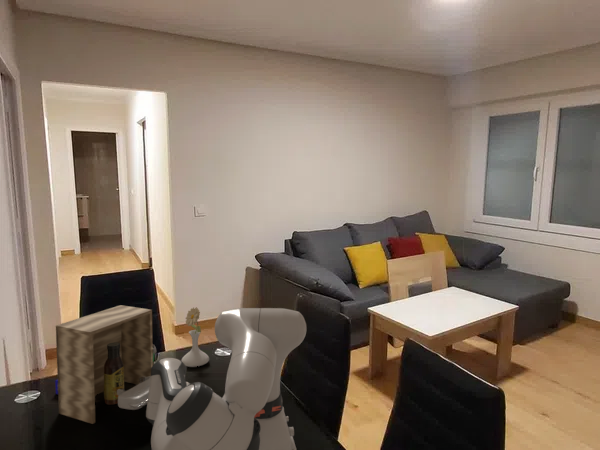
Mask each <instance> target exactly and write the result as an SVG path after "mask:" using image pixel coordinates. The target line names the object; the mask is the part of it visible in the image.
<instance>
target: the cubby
mask: <svg viewBox="0 0 600 450" xmlns="http://www.w3.org/2000/svg"><path fill="white" fill-rule="evenodd" d="M55 339H56V340H55V342H56V343H55V345H56V367H57V370H56V371H57V372H56V373H57V380H58V394H57V395H58V396H57V397H58V414H60V415H63V416H66V417H68V418H72V419H75V420H79V421H82V422H85V423H88V424H92V425H93V424H95V423H96V405H95V402H96V396H98V395H99V394H102V393H104V364H105V362H106V360H107V359H108V349H107V345H108V344H109V343H114V342H118V343H120V357H121V360H122V362H123V365H124V383H128V384H134V385H135V386H136V385H138V384H140V382H139V378H141V377H142V376H144V377H149V376H151V367H152V366H153V309H148V308H143V307H142V308H141V307H137V306H136V307H135V306H128V305H121V304H120V305H116V306H114V307H110V308H106V309H104V310H101V311H97V312H95V313H91V314H88V315H85V316H81V317H79V318H75V319H72V320H69V321H66V322H62V323H58V324H56V325H55ZM97 394H98V395H97Z"/></svg>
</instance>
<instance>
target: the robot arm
mask: <svg viewBox="0 0 600 450" xmlns="http://www.w3.org/2000/svg"><path fill="white" fill-rule="evenodd" d="M214 334H215V337H216V339H217V341H218V342H219V344H220V345H222V346H224V347H226V348H227V349H229V350H230V351H231V358H230V360H229V361H230V362H229V365H228V368H227V372H226V377H225V385H224V387H225V388H224V394H223V396H222V397H221V396H220V395H219V394H217V393H215V392H214V390H213V388H212V387H210V386H208V385H207V384H205V383H203V382H201V381H196V382H191V383H190V382H188V383H186V382H187V381H186V375H187V369H188V367H187V366H185V364H184V363H183V362H182V361H181V360H182V359H179V358H174V357H164V358H160V359H158V361H156V362H154V365H153V366H152V367H151V376H149V377H144V376H142V377H141V378H139V382H140V384H138V385H136V384H135V385H134V386H133V387H131V388H129V389H127V390H125V387H124V388H120V389H118V390H117V395H119V396H118V403H117V406H118V407H119V408H120V409H125V410H132V411H135V410H139V409H141V408H143V407H145V406H146V410H145V418H146V419H147V421H148V423H150V424H151V425H152V430H151V436H150V445H151V450H297V447H296V444H295V443H296V442H295V440H294V436H295V429H294V426H288V422H289V420H290V419H289V416H288V415H287V416H286V414H285V408H284V406H283V397H282V392H281V374H282V368H283V365H284V362H285V360H286V358H287V357H288V355H289V354H291V352H292V351H293V350H294V349H296V348H298V346H300V345H301V343H303V341H304V339H305V337H306V334H307V322H306V320H305V317H304V315H303V314H302V313H301V312H300V311H297V310H294V309H289V308H284V307H283V308H282V307H277V308H276V307H274V308H273V307H261V308H259V307H247V308H246V307H237V308H232V309H231V308H230V309H225V310H222V311H221V312H220V313H219V315H218V316H217V318H216V320H215V323H214Z"/></svg>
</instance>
